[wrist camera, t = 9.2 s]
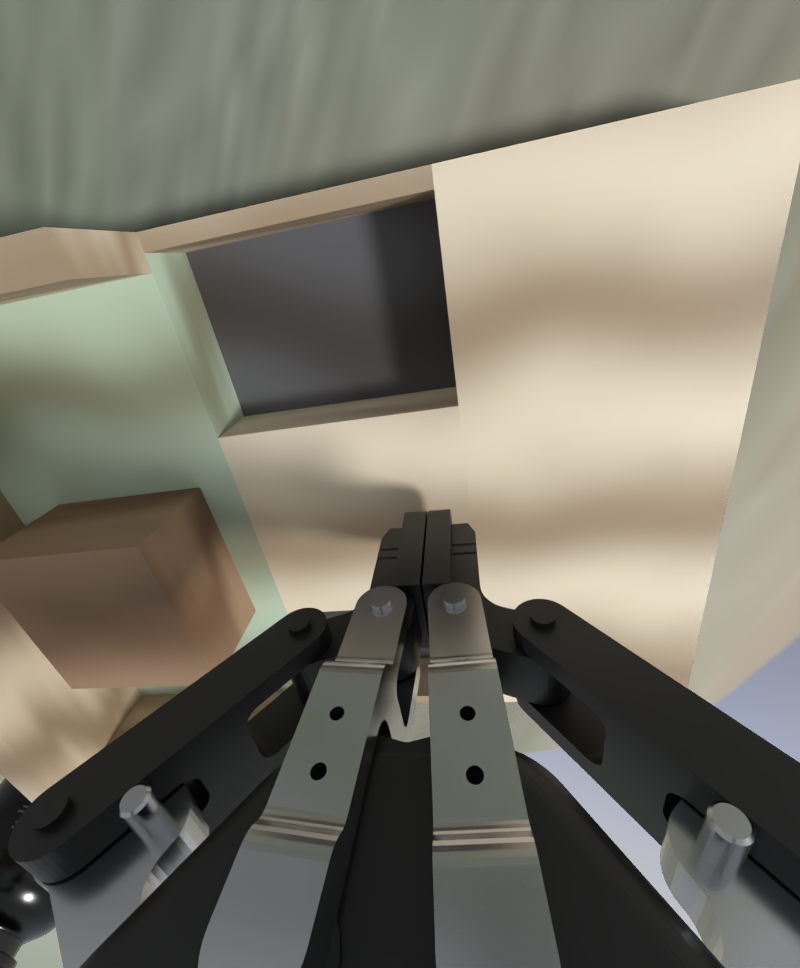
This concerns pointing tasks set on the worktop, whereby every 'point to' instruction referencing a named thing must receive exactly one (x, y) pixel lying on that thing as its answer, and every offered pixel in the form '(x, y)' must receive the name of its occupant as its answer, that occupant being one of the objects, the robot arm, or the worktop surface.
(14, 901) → the supplement bottle
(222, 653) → the walnut block
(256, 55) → the worktop surface
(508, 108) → the worktop surface
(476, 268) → the box
